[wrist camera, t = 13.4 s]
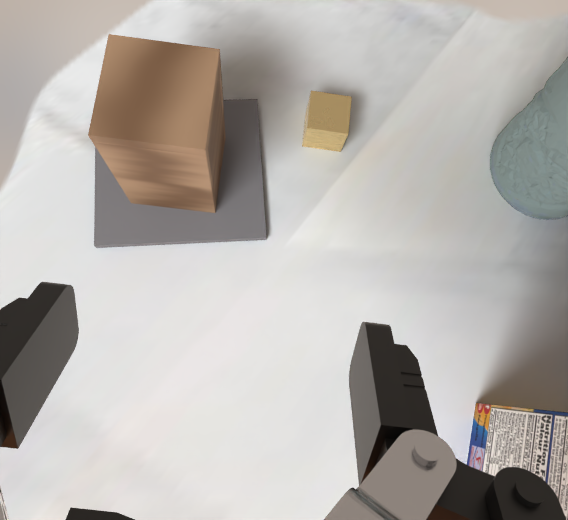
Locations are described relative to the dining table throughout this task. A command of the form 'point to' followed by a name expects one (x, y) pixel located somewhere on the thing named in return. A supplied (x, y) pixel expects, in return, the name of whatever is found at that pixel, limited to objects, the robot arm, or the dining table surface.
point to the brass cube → (326, 121)
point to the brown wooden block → (161, 122)
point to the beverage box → (522, 444)
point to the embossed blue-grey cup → (536, 153)
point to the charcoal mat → (187, 223)
